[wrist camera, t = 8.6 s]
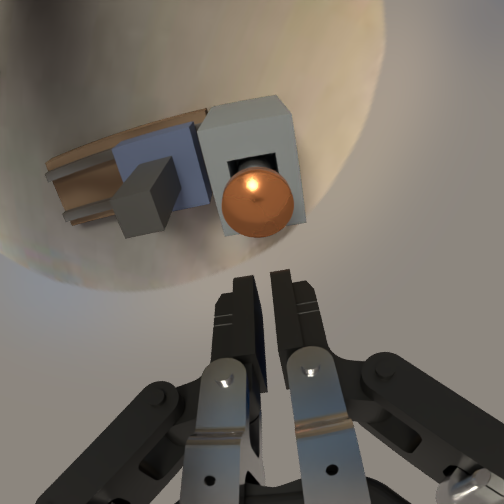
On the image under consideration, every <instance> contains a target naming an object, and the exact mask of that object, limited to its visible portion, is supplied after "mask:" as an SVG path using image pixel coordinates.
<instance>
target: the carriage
mask: <svg viewBox="0 0 504 504" xmlns="http://www.w3.org/2000/svg"><path fill="white" fill-rule="evenodd" d="M112 152H113V155H114V158H115V161H116V164H117V167H118V169H119V172H120V175H121V178H122V181H123V184H122V186H121V187H120V188H119V189H118V191H117V192H116V193H115V194H114V196H113V197H112V198H111V200H110V204H111V206H112V208H113V211H114V213H115V216H116V218H117V220H118V223H119V225H120V227H121V230H122V232H123V234H124V237H125V239H126V238H130V237H135V236H140V235H145V234H150V233H155V232H159V231H164V230H165V227H166V225H167V222H168V220H169V217H170V215H171V212H172V211H177V210H182V209H186V208H191V207H196V206H201V205H206V204H210V201H211V196H212V190H211V186H210V182H209V178H208V175H207V171H206V167H205V163H204V160H203V156H202V152H201V148H200V144H199V140H198V137H197V133H196V129H195V125H194V121H192V122H188V123H184V124H180V125H176V126H172V127H168V128H165V129H161V130H157V131H154V132H150V133H147V134H143V135H140V136H137V137H134V138H130V139H127V140H124V141H121V142H120V143H118V144H117V145H116V146H115V147H114V148H112Z"/></svg>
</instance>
